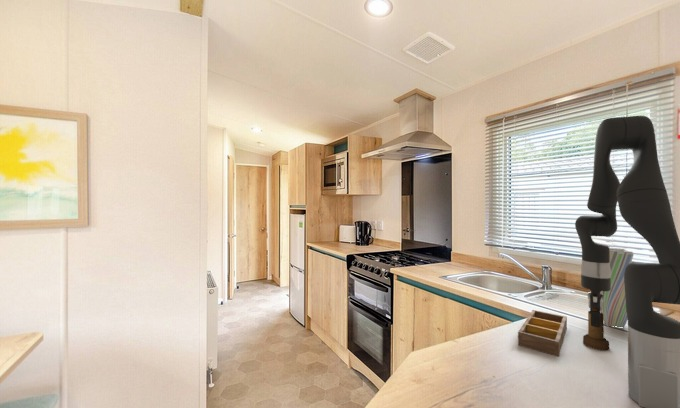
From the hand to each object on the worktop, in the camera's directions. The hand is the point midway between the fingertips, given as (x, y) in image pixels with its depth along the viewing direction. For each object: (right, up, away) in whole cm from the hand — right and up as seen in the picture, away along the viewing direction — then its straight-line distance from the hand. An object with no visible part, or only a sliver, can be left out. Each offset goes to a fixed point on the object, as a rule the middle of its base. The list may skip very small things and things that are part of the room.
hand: (595, 322), depth 98 cm
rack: (-13, -8, +7) cm, 16 cm away
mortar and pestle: (0, -8, 0) cm, 8 cm away
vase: (+22, -8, +16) cm, 28 cm away
